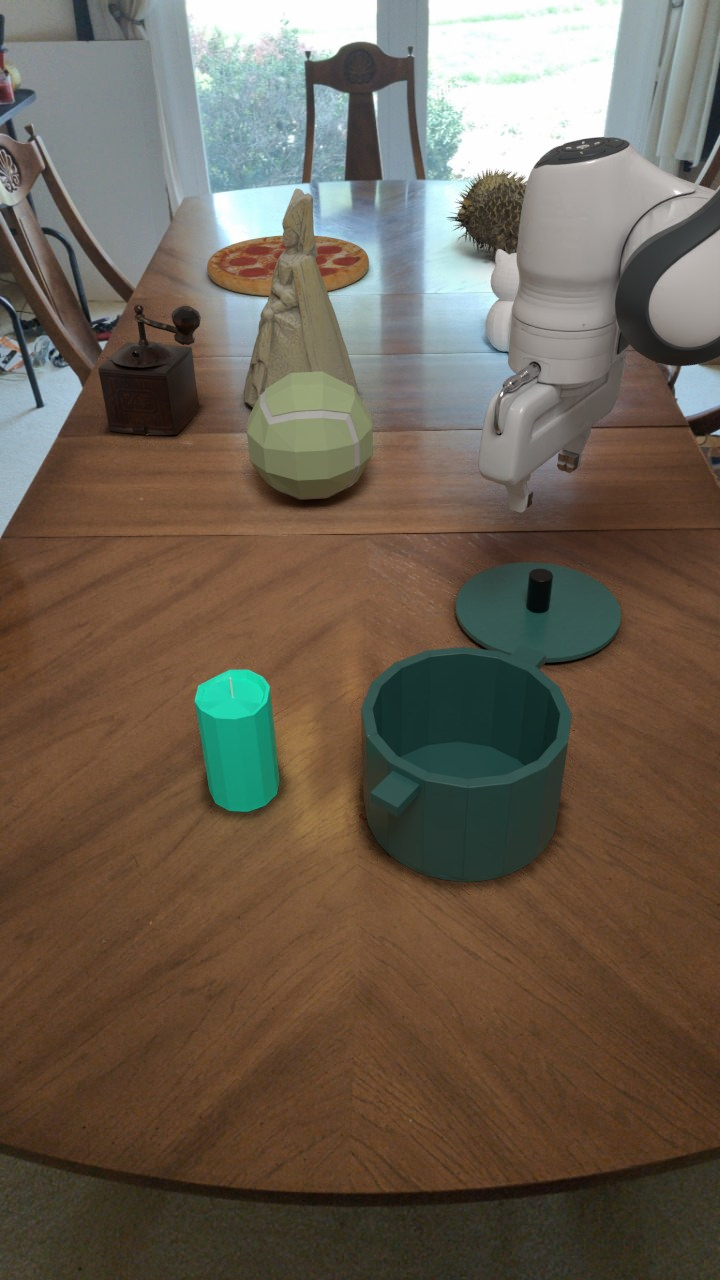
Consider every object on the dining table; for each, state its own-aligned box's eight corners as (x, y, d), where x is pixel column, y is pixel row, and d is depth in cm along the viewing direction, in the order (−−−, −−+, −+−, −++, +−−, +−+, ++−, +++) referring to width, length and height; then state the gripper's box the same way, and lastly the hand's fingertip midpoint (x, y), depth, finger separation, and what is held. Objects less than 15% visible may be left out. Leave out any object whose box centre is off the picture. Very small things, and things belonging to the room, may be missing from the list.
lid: (647, 605, 103) (655, 563, 100) (571, 690, 93) (577, 646, 90) (508, 554, 112) (511, 515, 108) (423, 627, 101) (424, 585, 98)
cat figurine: (536, 333, 166) (544, 241, 156) (543, 362, 156) (552, 265, 147) (483, 333, 166) (488, 241, 157) (486, 362, 156) (492, 265, 147)
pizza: (402, 268, 195) (402, 253, 194) (284, 310, 177) (283, 294, 176) (292, 238, 213) (291, 225, 211) (175, 274, 195) (173, 260, 193)
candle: (276, 757, 86) (264, 650, 79) (283, 806, 82) (272, 697, 74) (207, 766, 86) (190, 659, 78) (211, 817, 81) (192, 708, 74)
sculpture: (214, 376, 150) (275, 173, 136) (322, 405, 158) (390, 216, 145) (239, 419, 137) (309, 199, 123) (355, 448, 145) (433, 245, 132)
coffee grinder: (105, 434, 139) (80, 306, 128) (135, 401, 147) (114, 279, 136) (209, 442, 136) (193, 313, 125) (234, 409, 144) (221, 285, 133)
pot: (605, 771, 84) (622, 677, 78) (472, 941, 71) (480, 845, 65) (450, 700, 92) (454, 609, 86) (305, 841, 79) (297, 746, 72)
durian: (455, 149, 197) (448, 175, 182) (580, 162, 195) (584, 189, 180) (444, 237, 208) (437, 268, 193) (562, 250, 206) (565, 283, 191)
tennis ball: (377, 518, 119) (375, 401, 109) (253, 524, 118) (241, 408, 109) (367, 460, 130) (365, 351, 121) (255, 466, 130) (244, 357, 121)
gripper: (532, 395, 77) (517, 545, 85) (644, 320, 90) (621, 457, 98) (464, 377, 80) (456, 523, 89) (581, 306, 93) (565, 440, 101)
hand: (544, 488), depth 94 cm, fingers open, 8 cm apart
